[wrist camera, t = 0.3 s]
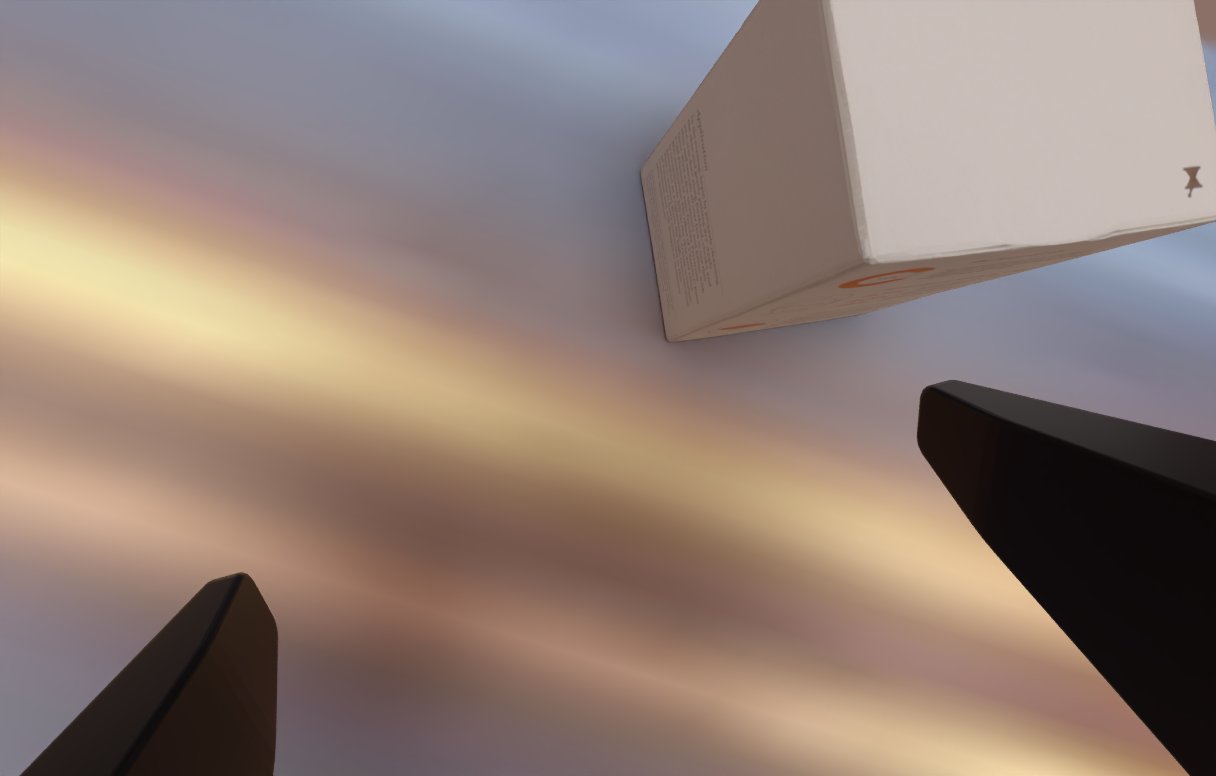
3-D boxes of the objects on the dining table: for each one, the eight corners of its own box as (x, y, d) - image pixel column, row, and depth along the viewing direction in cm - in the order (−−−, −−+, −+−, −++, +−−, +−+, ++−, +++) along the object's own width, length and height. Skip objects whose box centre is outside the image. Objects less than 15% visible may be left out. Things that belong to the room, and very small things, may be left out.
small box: (841, 147, 27) (1190, -98, 14) (867, 315, 27) (1242, 223, 14) (632, 166, 25) (812, -93, 12) (661, 345, 25) (870, 272, 12)
